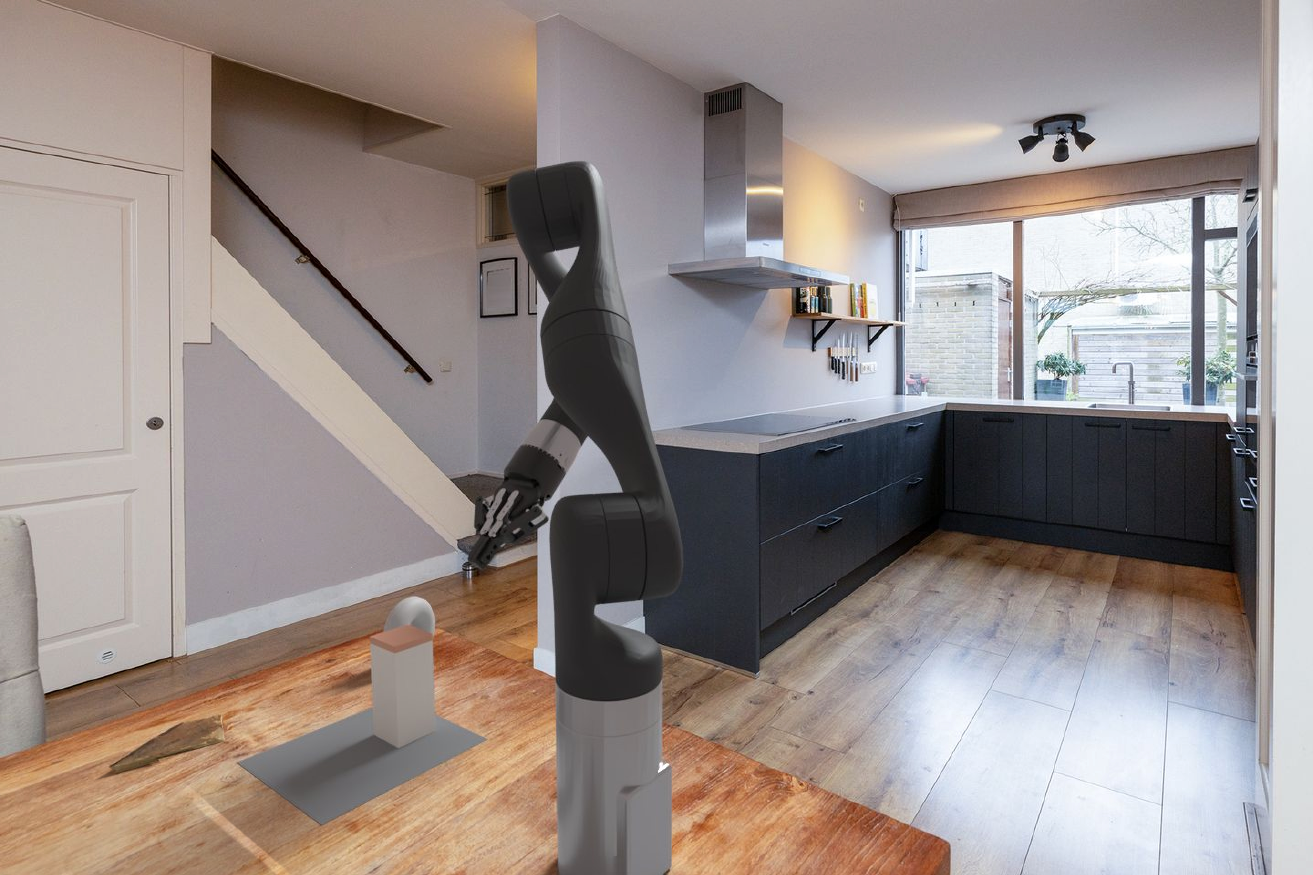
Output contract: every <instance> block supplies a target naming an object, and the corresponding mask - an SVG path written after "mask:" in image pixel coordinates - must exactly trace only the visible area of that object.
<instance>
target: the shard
mask: <svg viewBox="0 0 1313 875" xmlns="http://www.w3.org/2000/svg"><path fill="white" fill-rule="evenodd" d="M225 740H226V738H225V735H224V726H223V715H222V714H220V713H219V714H214V715H211V716H206V717H202V718H197V719H193V720H189V721H186V722H185V721H182V722H180V723H178V724H175V725H174V726H172V727H170V728H168V729H167V730H166V731H164V732H162V733H160V734H158V735H156V736H154V737H153V738H151V739H149V740H148V741H146V742H144V743H143V744H142V745H140V746H139V747H137V748H136V749H134V750H133V751H131V752H130V753H129V754H127V755H126V756H124V757H122V758H121V759H119V760H117V761H115V762H114V763H112V764H110V765H109V766H108V768H109V769H112V770H114V774H118V773H122V772H124V771H128V770H132V769H136V768H140V767H143V766H146V765H149V764H153V763H156V762H160V760H159V759H158V758H162V757H166V756H170V755H174V754H177V753H183V752H186V751H192V750H195V749H200V748H204V747H208V746H210V745H215V744H218V743H222V742H225Z"/></svg>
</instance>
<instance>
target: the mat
mask: <svg viewBox="0 0 1313 875" xmlns="http://www.w3.org/2000/svg"><path fill="white" fill-rule="evenodd" d="M435 728H436V731H434V732H432V733H430V734H428V735H426V736H423V737H421V738H419V739H417V740H415V741H413V742H411V743H409V744H406V745H404V746H402V747H400V748H397V747H395V746H393V745H392V744H390V743H388V742H386V741H384V740H383V739H381V738H379V737H377V736H375V735H374V725H373V706H371V707H369V708H367V709H364V710H362V711H359V712H356V713H355V714H352V715H350V716H347V717H346V718H345V717H344V718H341V719H340V720H337V721H335V722H333V723H331V724H327V725H325V726H323V727H320V728H317V729H315V730H313V731H311V732H308V733H305V734H303V735H301V736H299V737H298V736H297V737H296V738H293V739H291V740H288V741H286V742H284V743H281V744H279V745H276V746H274V747H272V748H268V749H266V750H265V751H262V752H259V753H256V754H253V755H252V756H250V757H247V758H245V759H242V760H239V761H237V762H236V763H237V764H238V765H239V766H240V767H242V768H244V769H245V770H246V771H247V772H249V773H250V774H251V775H253V776H254V777H255V778H257V779H258V780H260V782H262V783H264V784H265V785H266V786H267V787H269V788H270V789H271V790H272V791H274V792H276V793H277V794H278V795H280V797H282V798H284V799H285V800H286V801H288V802H289V803H291V804H292V805H294V807H296V808H298V809H299V810H300V811H301V812H302V813H304V814H305V815H306V816H308V817H310V818H311V819H312V820H314V821H315V822H316V823H318V824H319V826H323V825H325V824H327V823H329V822H331V821H334V820H335V819H337V818H339V817H341V816H343V815H345V814H347V813H349V812H351V811H352V810H355V809H356V808H359V807H360V806H362V805H365V804H366V803H368V802H370V801H372V800H374V799H376V798H378V797H379V796H381V795H383V794H385V793H388V792H389V791H392V790H393V789H395V788H397V787H400V786H401V785H403V784H404V783H406V782H408V781H411V780H413V779H414V778H416V777H418V776H421V775H422V774H424V773H427V772H428V771H430V770H432V769H434V768H436V767H437V766H439V765H442V764H444V763H446V762H447V761H449V760H451V759H453V758H455V757H457V756H459V755H461V754H463V753H465V752H467V751H468V750H471V749H472V748H474V747H476V746H478V745H480V744H482V743H484V742H486V741H488V739H489V738H487V737H484V736H482V735H480V734H478V733H475V732H474V731H472V730H469V729H467V728H466V727H463V726H462V725H461V726H460V725H458V724H456V723H455V722H452V721H450V720H448V719H446V718H444V717H442V716H440V715H438V714H436V713H435Z"/></svg>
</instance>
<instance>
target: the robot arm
mask: <svg viewBox="0 0 1313 875" xmlns="http://www.w3.org/2000/svg"><path fill="white" fill-rule="evenodd" d="M506 182H507V183H506V193H505V194H506V195H505V196H506V203H507V209H508V215H509V218H510V221H511V226H512V229H513V232H514V235H515V238H516V240H517V242H518V245H519V247H520V248H521V252H522V253H523V255H524V257H525V259H526V262H527V263H528V264H529V267H530V269H531V271H532V273H533V274H534V277H535V279H536V281H537V283H538V284H539V286H540V288H541V290H542V292H543V293H544V295H545V297H546V299H547V301H548V304H547V307H546V309H545V311H544V314H543V317H542V320H541V323H540V329H539V330H540V333H539V337H540V345H541V354H542V359H543V360H542V361H543V362H542V363H543V368H544V378H545V381H546V384H547V387H548V390H549V392H550V394H551V396H552V397H553V399H552V401H551V403H550V404H549V406H548V407H547V409H546V410H545V412H544V413H543V415H542V416H541V418H540V419H539V420H538V422H537V423H536V424H535V426H534V427H532V429H531V430H530V431H529V432H528V433H527V435H526V437H525V438H524V439H523V441H522V442H521V444H520V445H519V447H518V448H517V450H516V451H515V453H514V454H513V456H511V459H510V460H509V461H508V463H507V464H506V466H505V467H504V469H503V482H502V483H501V484H500V485H499V486H498V487H496V488H495V490H494V491H493V494H492V495H490V496H488V497H486V498H485V497H484V496H483V495H478V496H477V497H476V498H475V500H474V517H473V518H474V519H473V520H474V521H473V527H474V529H475V530H476V531H477V532H478V533H479V538H478V539H477V541H476V543H475V544H474V546H473V547H472V548H471V550H470V551H469V553H468V556H467V562H469V564H470V565H472V567H474V568H476V569H480V570H484V569H486V567H487V566H488V565H489V564H490V563H491V562H492V560H493V559H494V557H495V555H496V554H497V552H498V551H499V549H500V548H501V547H504V546H505V545H506V544H510V545H516V544H517V543H519V542H520V541H522V540H523V539H525V538H526V537H528V536H529V535H531V534H532V533H534V532H535V531H537V530H538V529H540V528H541V527H542V526H544V525H546V524H548V521H549V539H548V540H549V556H550V557H549V558H550V559H549V560H550V572H551V574H550V575H551V584H552V585H551V586H552V598H553V599H552V600H553V621H554V625H553V626H554V659H555V660H554V662H555V665H554V669H555V671H554V676H555V677H554V681H555V684H554V685H555V752H556V753H555V755H556V756H555V761H556V767H555V768H556V815H557V816H556V818H557V819H556V825H557V827H556V828H557V870H558V875H664V874H665V873H667V872H668V870H669V869H671V868H672V866H673V865H672V864H673V863H672V861H673V860H672V857H673V856H672V855H673V852H672V851H673V849H672V847H673V846H672V845H673V844H672V843H673V842H672V840H673V827H672V826H673V818H672V816H673V812H672V811H673V810H672V809H673V769H672V768H673V767H672V765H671V764H670V763H669V762H668V763H667V762H665V761H663V676H664V675H663V673H664V672H663V665H664V664H663V660H664V659H663V653H662V648H661V646H660V644H659V643H658V642H657V641H656V640H655V639H654V638H653V637H651V636H650V635H649V634H647V633H644V632H642V631H639V630H637V629H633V628H630V627H627V626H621V625H618V624H614V623H612V622H609V621H607V620H604V619H602V618H600V617H599V616H597V615H596V614H595V608H596V606H597V605H599V606H600V605H607V604H616V603H627V602H636V601H644V600H645V601H646V600H654V599H661V598H665V597H668V596H671V595H673V594H674V593H675V592H676V591H677V589H678V587H679V586H680V584H681V582H682V578H683V571H684V570H683V569H684V550H683V549H684V547H683V543H682V537H681V536H682V535H681V530H680V525H679V521H678V520H679V519H678V516H677V512H676V509H675V506H674V502H673V499H672V495H671V492H670V488H669V484H668V481H667V479H666V475H665V472H664V469H663V466H662V462H661V458H660V455H659V452H658V448H657V445H656V442H655V439H654V435H653V432H652V431H653V430H652V429H651V428H652V427H651V424H650V420H649V414H648V411H647V410H648V409H647V405H646V400H645V399H646V398H645V394H644V389H643V384H642V377H641V372H640V367H639V359H638V354H637V350H636V345H635V341H634V335H633V329H632V326H631V322H630V317H629V313H628V310H627V306H626V303H625V298H624V294H623V291H622V287H621V282H620V276H619V273H618V267H617V261H616V254H615V248H614V247H615V246H614V240H613V233H612V232H613V231H612V225H611V217H610V209H609V204H608V203H609V202H608V197H607V194H606V190H605V185H604V182H603V180H602V177H601V175H600V173H599V171H598V170H597V168H596V167H595V166H594V165H593V164H592V163H590V162H588V161H586V160H585V161H583V160H577V161H567V162H562V163H556V164H552V165H546V166H541V167H537V168H532V169H527V170H522V171H519V172H517V173H514V174H512V175H511V176H510V177H509V178H508V181H506ZM573 248H578V250H577V254H576V257H575V259H574V261H573V263H572V265H571V266H570V268H569V267H568V266H567V265H566V264H565V263H563V262H562V260H561V259H560V258H559V257H557V255H556V254H555V252H558V251H564V250H568V249H573ZM587 438H589V439H590V440H591V441H592V442H593V443H594V444H595V445H596V446H597V447H598V449H599V450H600V451H601V452H602V453H603V455H604V457H605V458H606V459H607V461H608V463H609V464H610V467H612V470H613V471H614V474H615V477H616V478H617V481H618V483H619V485H620V488H621V491H622V492H621V491H619V492H600V493H584V494H572V495H566V496H563V497H560V498H559V499H558V500H557V501H556V503H555V504H554V506H553V509H552V511H551V515H550V520H549V516H547V514H546V513H545V512H544V510H543V507H544V505H545V502H548V501H550V500H551V499H552V497H553V496H554V494H555V493H556V491H557V490H558V488H559V487H560V485H561V483H562V481H564V479H565V477H566V476H567V474H568V472H569V471H570V469H571V467H572V466H573V464H574V463H575V460H576V458H577V457H578V454H579V451H580V449H581V448H582V446H583V445H584V443H585V441H586V440H587Z"/></svg>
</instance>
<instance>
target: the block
mask: <svg viewBox="0 0 1313 875" xmlns="http://www.w3.org/2000/svg"><path fill="white" fill-rule="evenodd" d="M433 639H434V635H433V634H432V633H429V632H427V631H424V630H421V629H419V628H416V627H413V626H412V625H408V624H407V625H404V626H401V627H398V628H395V629H392V630H389V631H386V632H383V631H382V632H380V633H377V634H374V635H370V636H369V646H370V647H369V649H370V673H371V694H372V695H371V696H372V700H371V701H372V707H373V725H374V735H375V736H377V737H379V738H381V739H383V740H384V741H386V742H388V743H390V744H392V745H393V746H395V747H397V748H400V747H402V746H404V745H406V744H409V743H411V742H413V741H415V740H417V739H419V738H421V737H423V736H426V735H428V734H430V733H432V732H434V731H436V728H435V714H436V706H435V705H436V703H435V701H436V700H435V698H436V697H435V675H434V673H435V672H434V670H435V669H434V668H435V667H434V643H433V642H434V641H433Z"/></svg>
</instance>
